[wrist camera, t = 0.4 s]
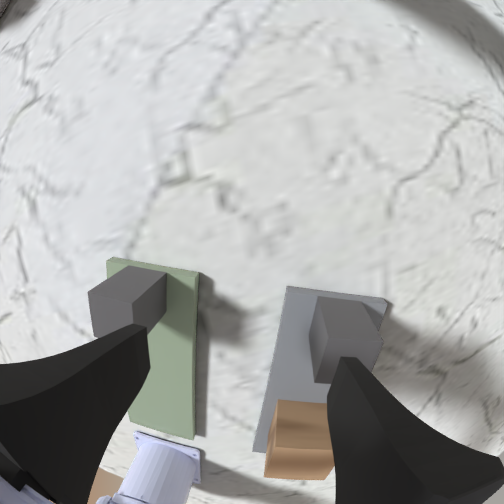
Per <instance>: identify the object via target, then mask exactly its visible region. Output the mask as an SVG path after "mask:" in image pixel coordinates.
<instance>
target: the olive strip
mask: <svg viewBox="0 0 504 504" xmlns="http://www.w3.org/2000/svg"><path fill="white" fill-rule="evenodd" d="M106 266H107V280H105V281H103V282H102V283H100V284H99V285H97V286H96V287H94V288H93V289H91V290H90V291H88V298H89V306H90V314H91V320H92V327H93V333H94V337H97V338H101V337H103V336H105V335H107V334H109V333H112V332H114V331H116V330H118V329H120V328H123V327H125V326H127V325H130V324H137V325H141V326H145V327H147V337H148V348H149V357H150V366H151V369H150V371H149V373H148V376H147V378H146V380H145V382H144V384H143V387H142V389H141V390H140V392H139V393H138V395H137V397H136V398H135V400H134V401H133V403H132V404H131V406H130V408H129V409H128V415H129V419H130V422H133V423H136V424H139V425H141V426H144V427H148V428H151V429H154V430H157V431H160V432H164V433H167V434H171V435H174V436H178V437H182V438H185V439H189V440H194V437H195V434H196V430H195V362H196V326H197V303H198V284H199V272H194V271H188V270H182V269H177V268H171V267H165V266H159V265H154V264H148V263H143V262H137V261H132V260H127V259H121V258H116V257H112V258H110V259H109V260H107V261H106Z"/></svg>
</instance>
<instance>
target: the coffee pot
mask: <svg viewBox="0 0 504 504" xmlns="http://www.w3.org/2000/svg"><path fill="white" fill-rule="evenodd" d="M9 1H10V0H0V17H1V15H2V14H3V12H4V11H5V9H6V7H7V5H8V3H9Z"/></svg>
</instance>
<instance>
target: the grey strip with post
mask: <svg viewBox="0 0 504 504" xmlns="http://www.w3.org/2000/svg"><path fill="white" fill-rule="evenodd" d="M386 307H387V303H386V302H385V300H384V299H383V298H377V297H368V296H360V295H352V294H344V293H336V292H328V291H321V290H313V289H306V288H299V287H291V286H287V288H286V294H285V299H284V305H283V310H282V315H281V321H280V326H279V331H278V336H277V341H276V346H275V351H274V356H273V361H272V366H271V370H270V375H269V380H268V384H267V389H266V393H265V398H264V402H263V407H262V411H261V415H260V419H259V424H258V428H257V432H256V436H255V440H254V444H253V451H252V452H260V453H266V451H267V440H268V433H269V429H270V426H271V422H272V419H273V415H274V412H275V408H276V404H277V401H278V399H281V400H290V401H301V402H313V403H327V394H328V392H329V389H330V386H331V383H332V381H333V378H334V375H335V372H336V369H337V366H338V363H339V360H340V357H341V356H343V357H357V358H358V359H359V360H360V361H361V362H362V364H363V365H364V366H365V367H366V368H367V369H368V370H369V371H370V372H372V369H373V367H374V364H375V362H376V360H377V357H378V355H379V352H380V350H381V347H382V344H383V340H382V338H381V336H380V334H379V333H378V331H379V328H380V325H381V322H382V319H383V316H384V313H385V310H386Z"/></svg>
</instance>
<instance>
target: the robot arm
mask: <svg viewBox="0 0 504 504" xmlns="http://www.w3.org/2000/svg"><path fill="white" fill-rule="evenodd" d="M150 369H151V366H150V357H149V348H148V337H147V327H145V326H141V325H137V324H130V325H127V326H125V327H123V328H120V329H118V330H116V331H114V332H112V333H109V334H107V335H105V336H103V337H101V338H98V339H96V340H94V341H92V342H89V343H87V344H84V345H82V346H79V347H77V348H74V349H72V350H69V351H66V352H63V353H60V354H57V355H54V356H50V357H46V358H42V359H37V360H32V361H26V362H20V363H11V364H0V504H54V503H56V504H87V502H88V498H89V495H90V491H91V488H92V484H93V481H94V478H95V475H96V472H97V470H98V467H99V465H100V462H101V460H102V457H103V455H104V452H105V450H106V448H107V446H108V443H109V441H110V439H111V437H112V435H113V433H114V431H115V430H116V428H117V426H118V425H119V423H120V421H121V420H122V418H123V417H124V415H125V414H126V412H127V411H128V409H129V408H130V406H131V404H132V403H133V401H134V400H135V398H136V397H137V395H138V393H139V392H140V390H141V389H142V387H143V384H144V382H145V380H146V378H147V376H148V373H149V371H150ZM327 419H328V426H329V432H330V438H331V445H332V451H333V457H334V464H335V474H336V501H335V504H482V503H483V502H484V501H486V500H487V499H488V498H489V497H491V496H492V495H493V494H494V493H495V492H496V491H497V490H499V488H501V487H502V485H503V484H504V466H503V464H502V462H501V460H500V458H499V457H496V456H492V455H489V454H486V453H483V452H479V451H476V450H474V449H471V448H469V447H467V446H464V445H462V444H460V443H458V442H456V441H454V440H452V439H450V438H448V437H446V436H445V435H443V434H441V433H440V432H438V431H436V430H435V429H433V428H432V427H430V426H429V425H427V424H426V423H424V422H423V421H422V420H420V419H419V418H418V417H416V416H415V415H414V414H413V413H411V412H410V411H409V410H408V409H407V408H406V407H404V406H403V405H402V404H401V403H400V402H399V401H398V400H397V399H396V398H395V397H394V396H393V395H392V394H391V393H390V392H389V391H388V390H387V389H386V388H385V387H384V386H383V385H382V384H381V383H380V382H379V381H378V380H377V379H376V378H375V377H374V376H373V374H372V373H371V372H370V371H369V370H368V369H367V368H366V367H365V366H364V365H363V364H362V362H361V361H360V360H359V359H358V358H357V357H343V356H341V357H340V360H339V363H338V366H337V369H336V372H335V375H334V378H333V381H332V383H331V386H330V389H329V392H328V394H327ZM133 436H134V439H135V442H136V446H137V449H138V452H137V454H136V456H135V458H134V460H133V462H132V464H131V466H130V468H129V470H128V472H127V474H126V476H125V478H124V480H123V483H122V484H121V487H120V488H119V491H118V492H117V493H115V494H114V496H113V498H112V497H110V496H108V495H107V496H102V497H100V498H99V499H98V500H97V502H96V504H186V502H187V499H188V495H189V492H190V489H191V486H192V483H196V484H200V482H201V475H200V451H199V450H198V449H195V448H190V447H186V446H183V445H179V444H175V443H172V442H168V441H165V440H161V439H158V438H155V437H152V436H149V435H146V434H143V433H140V432H136V431H135V432H134V433H133ZM49 500H51V501H52V502H54V503H52V502H51V501H49Z"/></svg>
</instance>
